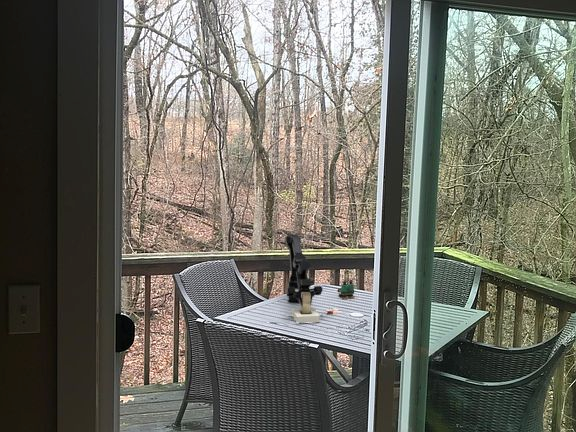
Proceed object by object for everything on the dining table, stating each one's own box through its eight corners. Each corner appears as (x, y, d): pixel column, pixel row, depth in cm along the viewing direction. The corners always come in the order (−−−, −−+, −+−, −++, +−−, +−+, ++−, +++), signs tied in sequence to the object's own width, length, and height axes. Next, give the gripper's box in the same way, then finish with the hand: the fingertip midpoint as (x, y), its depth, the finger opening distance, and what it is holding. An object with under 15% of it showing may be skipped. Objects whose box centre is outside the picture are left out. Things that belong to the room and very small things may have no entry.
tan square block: (301, 315, 326) (301, 292, 323) (308, 315, 326) (309, 291, 324) (302, 318, 322) (303, 294, 319) (310, 318, 322) (310, 294, 320)
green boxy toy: (347, 277, 367) (356, 280, 358) (347, 294, 368) (356, 298, 360) (334, 279, 363) (343, 282, 354) (334, 296, 364) (343, 300, 355)
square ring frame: (292, 316, 329) (292, 308, 328) (313, 314, 331) (314, 307, 330) (296, 324, 317) (296, 316, 317) (319, 323, 320) (319, 315, 319)
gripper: (287, 272, 321) (291, 299, 313) (322, 271, 325) (326, 298, 317) (284, 282, 331) (287, 309, 322) (318, 281, 334) (322, 307, 326)
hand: (306, 305), depth 321 cm, fingers closed on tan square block, 4 cm apart
